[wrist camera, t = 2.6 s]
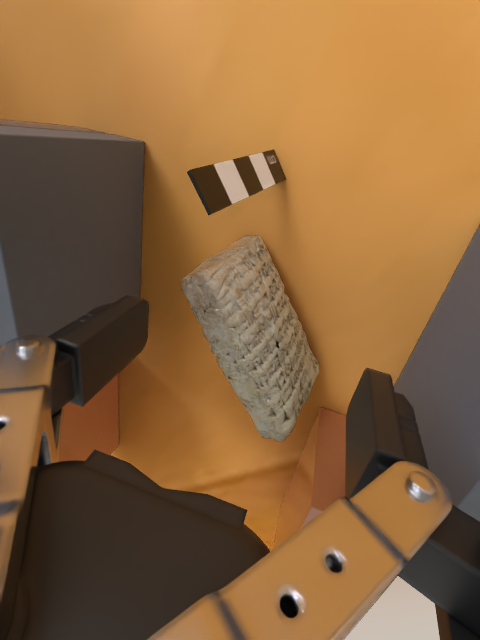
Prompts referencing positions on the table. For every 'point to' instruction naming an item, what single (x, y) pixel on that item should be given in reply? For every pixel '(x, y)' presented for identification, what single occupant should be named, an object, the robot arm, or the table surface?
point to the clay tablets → (305, 486)
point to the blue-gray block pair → (125, 271)
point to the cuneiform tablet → (250, 305)
